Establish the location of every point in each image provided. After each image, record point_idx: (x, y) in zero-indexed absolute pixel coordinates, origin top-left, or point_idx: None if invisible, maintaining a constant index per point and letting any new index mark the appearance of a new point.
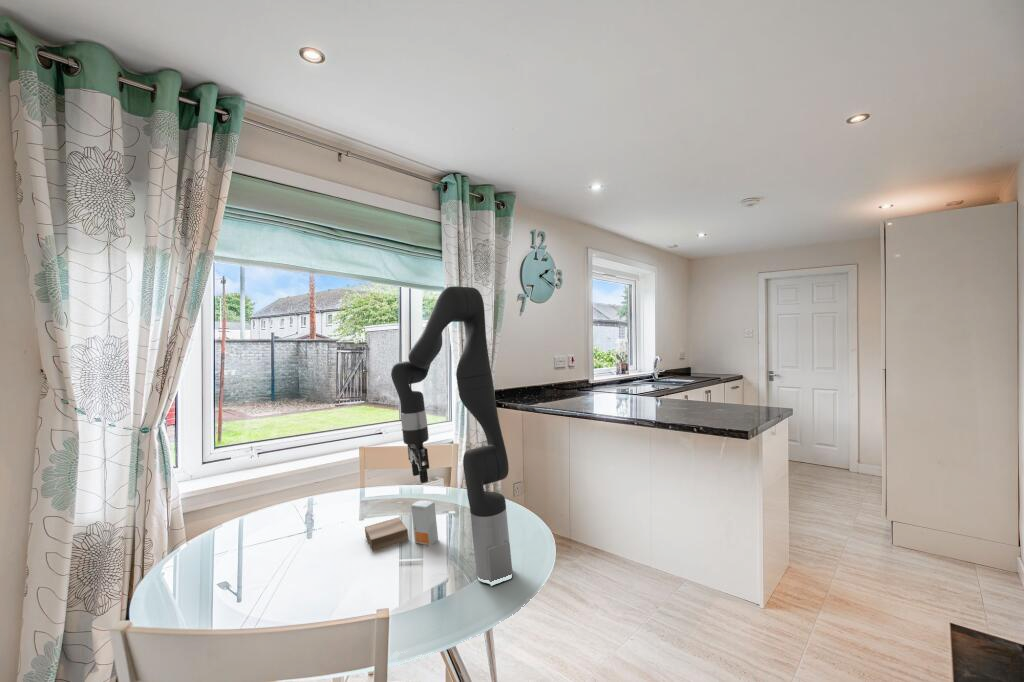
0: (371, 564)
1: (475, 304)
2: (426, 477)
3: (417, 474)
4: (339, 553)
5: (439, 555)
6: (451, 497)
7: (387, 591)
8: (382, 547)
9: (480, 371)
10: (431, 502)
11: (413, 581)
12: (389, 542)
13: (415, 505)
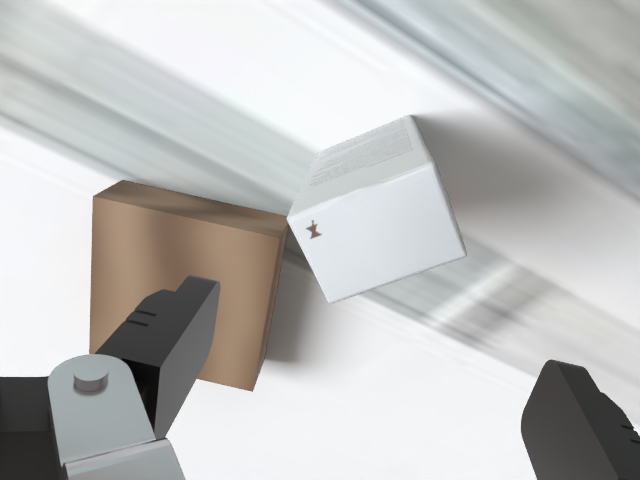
0: (365, 403)
1: None
2: (630, 433)
3: (213, 309)
4: (179, 434)
5: (559, 197)
6: None
7: None
8: (269, 326)
9: None
10: (422, 185)
11: (634, 369)
12: (272, 304)
13: (362, 289)
